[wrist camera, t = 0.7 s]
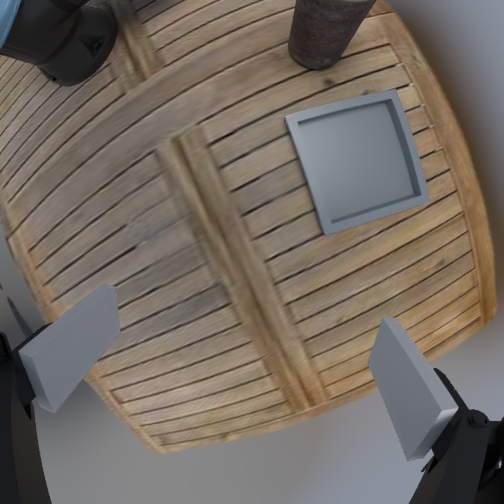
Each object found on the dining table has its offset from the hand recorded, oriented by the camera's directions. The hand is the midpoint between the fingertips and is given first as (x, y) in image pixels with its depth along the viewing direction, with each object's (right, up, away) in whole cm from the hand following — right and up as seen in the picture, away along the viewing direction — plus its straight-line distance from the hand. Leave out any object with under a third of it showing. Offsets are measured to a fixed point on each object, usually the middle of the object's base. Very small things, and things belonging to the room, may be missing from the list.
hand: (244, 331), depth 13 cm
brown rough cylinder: (+9, +32, +20) cm, 39 cm away
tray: (+15, +16, +23) cm, 32 cm away
